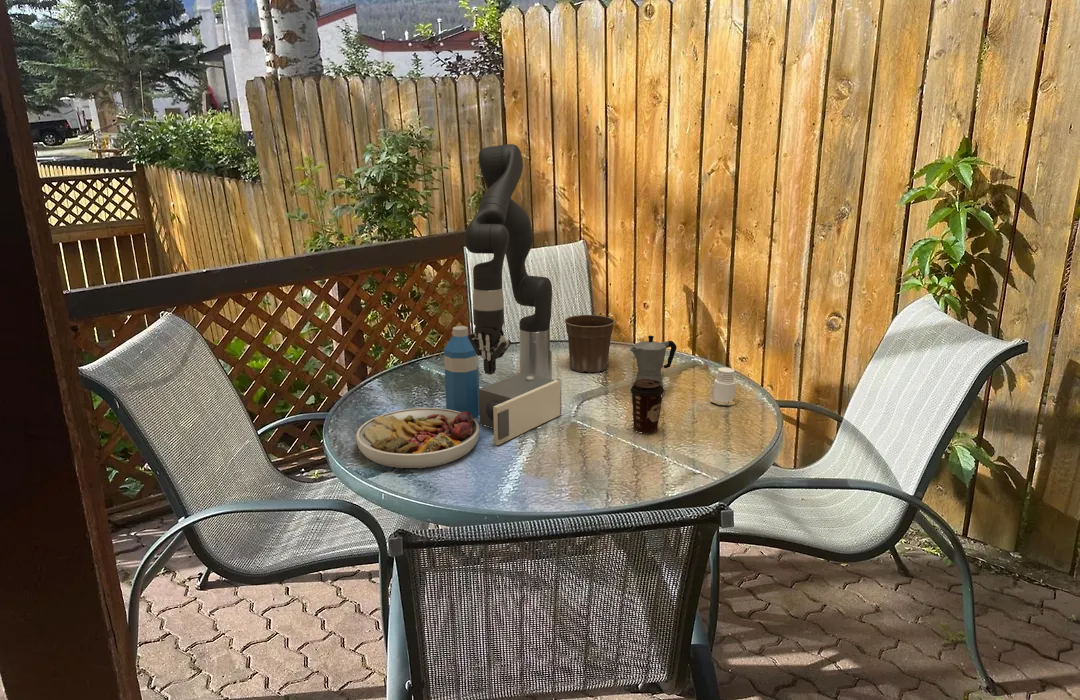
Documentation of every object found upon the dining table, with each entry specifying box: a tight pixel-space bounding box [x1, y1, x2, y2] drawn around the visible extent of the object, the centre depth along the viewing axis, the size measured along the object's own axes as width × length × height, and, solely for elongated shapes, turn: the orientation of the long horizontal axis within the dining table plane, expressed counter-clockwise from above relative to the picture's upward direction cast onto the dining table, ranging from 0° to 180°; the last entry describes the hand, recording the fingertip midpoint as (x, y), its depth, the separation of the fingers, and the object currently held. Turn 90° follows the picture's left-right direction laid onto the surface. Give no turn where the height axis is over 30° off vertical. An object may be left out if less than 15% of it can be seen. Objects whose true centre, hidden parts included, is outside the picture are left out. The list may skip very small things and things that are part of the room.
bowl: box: [356, 407, 480, 469], centre depth 190 cm, size 30×30×8 cm
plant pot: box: [564, 314, 616, 374], centre depth 249 cm, size 16×16×16 cm
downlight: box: [711, 367, 737, 402], centre depth 218 cm, size 8×7×10 cm
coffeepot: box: [629, 335, 677, 395], centre depth 224 cm, size 15×9×18 cm, turn 113°
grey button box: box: [479, 372, 556, 429], centre depth 206 cm, size 19×12×11 cm, turn 141°
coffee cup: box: [630, 379, 665, 434], centre depth 199 cm, size 9×8×13 cm
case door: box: [493, 378, 563, 446], centre depth 199 cm, size 27×2×10 cm, turn 141°
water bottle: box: [443, 325, 480, 420], centre depth 207 cm, size 9×9×25 cm
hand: (489, 373), depth 192 cm, fingers closed
